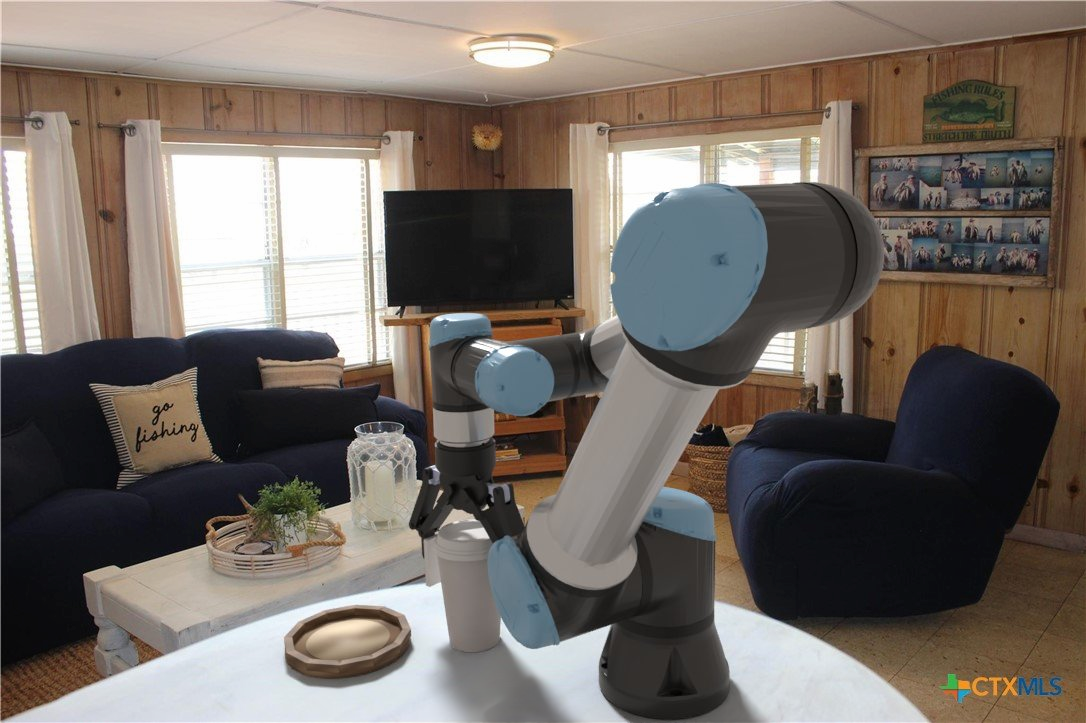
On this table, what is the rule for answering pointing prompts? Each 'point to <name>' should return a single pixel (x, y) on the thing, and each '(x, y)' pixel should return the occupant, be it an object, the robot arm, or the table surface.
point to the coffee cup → (467, 586)
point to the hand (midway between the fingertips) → (471, 597)
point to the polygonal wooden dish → (347, 641)
